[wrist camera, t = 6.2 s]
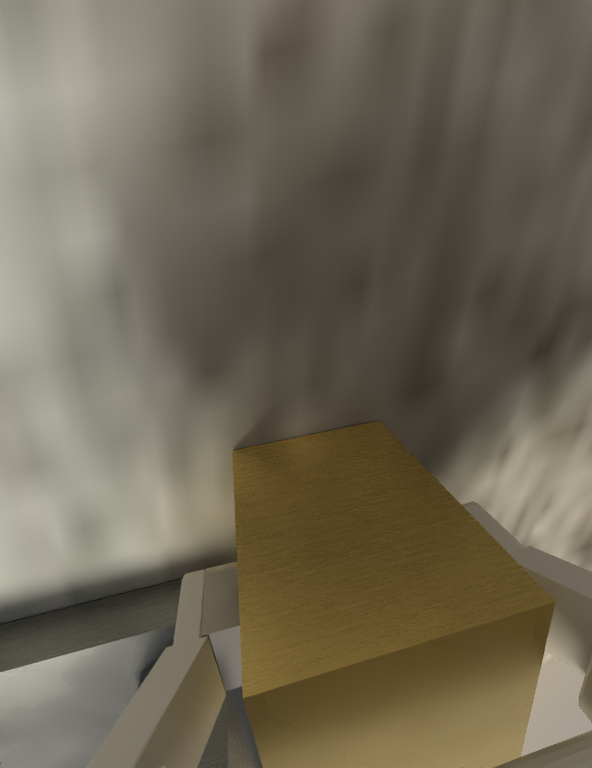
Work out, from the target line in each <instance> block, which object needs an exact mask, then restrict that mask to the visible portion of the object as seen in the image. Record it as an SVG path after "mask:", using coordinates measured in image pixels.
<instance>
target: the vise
mask: <svg viewBox="0 0 592 768" xmlns="http://www.w3.org/2000/svg"><path fill="white" fill-rule="evenodd" d="M181 584H182V579H179V580H175V581H171V582H167V583H163V584H159V585H155V586H151V587H147V588H143V589H139V590H136V591H132V592H128V593H124V594H120V595H116V596H112V597H108V598H104V599H100V600H96V601H92V602H88V603H84V604H80V605H76V606H72V607H68V608H64V609H61V610H57V611H53V612H49V613H45V614H41V615H37V616H33V617H29V618H25V619H21V620H17V621H13V622H9V623H5V624H1V625H0V768H86V766H87V765H88V763H89V762H90V760H91V759H92V757H93V756H94V754H95V753H96V751H97V750H98V748H99V747H100V745H101V744H102V742H103V741H104V739H105V738H106V737H107V735H108V734H109V732H110V731H111V729H112V728H113V726H114V725H115V723H116V722H117V720H118V719H119V717H120V716H121V714H122V713H123V711H124V710H125V708H126V707H127V705H128V704H129V702H130V701H131V699H132V698H133V696H134V695H135V693H136V692H137V690H138V689H139V687H140V686H141V684H142V683H143V681H144V680H145V678H146V677H147V675H148V674H149V672H150V671H151V669H152V668H153V666H154V665H155V663H156V662H157V660H158V659H159V657H160V656H161V654H162V653H163V651H164V650H165V648H166V647H169V646H173V642H174V635H175V628H176V620H177V613H178V606H179V598H180V591H181ZM225 693H226V696H225V699H224V701H223V704H222V706H221V709H220V711H219V714H218V716H217V719H216V721H215V724H214V727H213V729H212V732H211V734H210V737H209V739H208V742H207V744H206V747H205V749H204V752H203V754H202V757H201V759H200V762H199V764H198V767H197V768H263V766H262V763H261V759H260V756H259V752H258V749H257V745H256V742H255V739H254V735H253V732H252V728H251V725H250V721H249V718H248V715H247V711H246V708H245V704H244V701H243V691H242V686H241V687H238V688H235V689H232V690H229V691H226V692H225Z"/></svg>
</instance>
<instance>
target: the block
mask: <svg viewBox="0 0 592 768" xmlns="http://www.w3.org/2000/svg"><path fill="white" fill-rule="evenodd" d="M233 473H234V498H235V522H236V546H237V570H238V595H239V619H240V643H241V667H242V691H243V701H244V704H245V708H246V711H247V715H248V718H249V721H250V725H251V728H252V732H253V735H254V739H255V742H256V745H257V749H258V752H259V756H260V759H261V763H262V766H263V768H493V767H496V766H498V765H501V764H504V763H506V762H509V761H512V760H514V759H517V758H520V756H521V751H522V746H523V743H524V738H525V734H526V729H527V725H528V721H529V716H530V712H531V708H532V703H533V699H534V694H535V689H536V685H537V681H538V676H539V673H540V668H541V664H542V659H543V655H544V651H545V646H546V642H547V638H548V633H549V629H550V624H551V620H552V616H553V611H554V607H555V603H556V601H555V600H554V599H553V598H552V597H551V596H550V595H549V594H548V593H547V592H546V591H545V590H544V589H543V588H542V587H541V586H540V585H539V584H538V583H537V582H536V581H535V580H534V579H533V578H532V577H531V576H530V575H529V574H528V573H527V572H526V571H525V570H524V568H523V567H522V566H521V565H520V564H519V563H518V562H517V561H516V560H515V559H514V558H513V557H512V556H511V555H510V554H509V553H508V552H507V551H506V550H505V549H504V548H503V547H502V546H501V545H500V544H499V543H498V542H497V541H496V540H495V539H494V538H493V537H492V536H491V535H490V534H489V533H488V532H487V531H486V530H485V528H484V527H483V526H482V525H481V524H480V523H479V522H478V521H477V520H476V519H475V518H474V517H473V516H472V515H471V514H470V513H469V512H468V511H467V510H466V509H465V508H464V507H463V506H462V505H461V504H460V503H459V502H458V501H457V500H456V499H455V498H454V497H453V496H452V495H451V494H450V493H449V492H448V491H447V490H446V488H445V487H444V486H443V485H442V484H441V483H440V482H439V481H438V480H437V479H436V478H435V477H434V476H433V475H432V474H431V473H430V472H429V471H428V470H427V469H426V468H425V467H424V466H423V465H422V464H421V463H420V462H419V461H418V460H417V459H416V458H415V457H414V456H413V455H412V454H411V453H410V452H409V451H408V449H407V448H406V447H405V446H404V445H403V444H402V443H401V442H400V441H399V440H398V439H397V438H396V437H395V436H394V435H393V434H392V433H391V432H390V431H389V430H388V429H387V428H386V427H385V426H384V425H383V424H382V423H381V422H380V421H374V422H369V423H365V424H360V425H355V426H350V427H345V428H340V429H335V430H330V431H325V432H321V433H316V434H311V435H306V436H301V437H296V438H291V439H286V440H282V441H277V442H272V443H267V444H262V445H257V446H252V447H247V448H242V449H238V450H233Z"/></svg>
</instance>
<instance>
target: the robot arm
mask: <svg viewBox="0 0 592 768" xmlns="http://www.w3.org/2000/svg"><path fill="white" fill-rule="evenodd" d="M462 506H463V507H464V508H465V509H466V510H467V511H468V512H469V513H470V514H471V515H472V516H473V517H474V518H475V519H476V520H477V521H478V522H479V523H480V524H481V525H482V526H483V527H484V528H485V530H486V531H487V532H488V533H489V534H490V535H491V536H492V537H493V538H494V539H495V540H496V541H497V542H498V543H499V544H500V545H501V546H502V547H503V548H504V549H505V550H506V551H507V552H508V553H509V554H510V555H511V556H512V557H513V558H514V559H515V560H516V561H517V562H518V563H519V564H520V565H521V566H522V567H523V568H524V570H525V571H526V572H527V573H528V574H529V575H530V576H531V577H532V578H533V579H534V580H535V581H536V582H537V583H538V584H539V585H540V586H541V587H542V588H543V589H544V590H545V591H546V592H547V593H548V594H549V595H550V596H551V597H552V598H553V599H554V600H555V601H556V603H555V607H554V611H553V616H552V620H551V624H550V629H549V633H548V638H547V642H546V646H545V650H546V651H547V652H548V653H550V654H551V655H553V656H554V657H556V658H557V659H559V660H560V661H561V662H563V663H564V664H566V665H567V666H569V667H571V668H572V669H573V670H575V671H576V672H577V673H579V674H580V675H582V676H583V677H584V681H583V685H582V688H581V691H580V695H579V707H580V708H581V709H582V711H583V712H584V713H585V715H586V716H587V717H588V718H589V720H590V721H591V722H592V572H591V571H588V570H586V569H584V568H581V567H579V566H576V565H574V564H572V563H569V562H567V561H564V560H562V559H560V558H557V557H555V556H553V555H550V554H548V553H545V552H543V551H541V550H538V549H536V548H534V547H531V546H528V547H524V546H523V545H522V544H520V543H519V542H518V541H517V540H516V539H515V538H514V537H513V536H512V535H511V534H510V533H509V532H508V531H507V530H506V529H505V528H503V527H502V526H501V525H500V524H499V523H498V522H497V521H496V520H495V519H494V518H493V517H492V516H491V515H490V514H489V513H488V512H486V511H485V510H484V509H483V508H482V507H481V506H480V505H479V504H478V503H475V502H469V503H466V504H462ZM241 686H242V667H241V643H240V619H239V595H238V570H237V562H233V563H228V564H224V565H220V566H215V567H211V568H206V569H203V570H199V571H195V572H190V573H186V574H185V575H184V577H183V579H182V584H181V591H180V598H179V606H178V613H177V620H176V628H175V635H174V642H173V646H169V647H166V648H165V650H164V651H163V653H162V654H161V656H160V657H159V659H158V660H157V662H156V663H155V665H154V666H153V668H152V669H151V671H150V672H149V674H148V675H147V677H146V678H145V680H144V681H143V683H142V684H141V686H140V687H139V689H138V690H137V692H136V693H135V695H134V696H133V698H132V699H131V701H130V702H129V704H128V705H127V707H126V708H125V710H124V711H123V713H122V714H121V716H120V717H119V719H118V720H117V722H116V723H115V725H114V726H113V728H112V729H111V731H110V732H109V734H108V735H107V737H106V738H105V739H104V741H103V742H102V744H101V745H100V747H99V748H98V750H97V751H96V753H95V754H94V756H93V757H92V759H91V760H90V762H89V763H88V765H87V766H86V768H197V767H198V764H199V762H200V759H201V757H202V754H203V752H204V749H205V747H206V744H207V742H208V739H209V737H210V734H211V732H212V729H213V727H214V724H215V721H216V719H217V716H218V714H219V711H220V709H221V706H222V704H223V701H224V699H225V696H226V693H225V692H226V691H229V690H232V689H235V688H238V687H241ZM493 768H592V730H591V731H589V732H586V733H583V734H581V735H578V736H575V737H573V738H570V739H567V740H565V741H562V742H559V743H557V744H554V745H551V746H549V747H546V748H543V749H541V750H538V751H536V752H533V753H530V754H528V755H525V756H522V757H520V758H517V759H514V760H512V761H509V762H506V763H504V764H501V765H498V766H496V767H493Z"/></svg>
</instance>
